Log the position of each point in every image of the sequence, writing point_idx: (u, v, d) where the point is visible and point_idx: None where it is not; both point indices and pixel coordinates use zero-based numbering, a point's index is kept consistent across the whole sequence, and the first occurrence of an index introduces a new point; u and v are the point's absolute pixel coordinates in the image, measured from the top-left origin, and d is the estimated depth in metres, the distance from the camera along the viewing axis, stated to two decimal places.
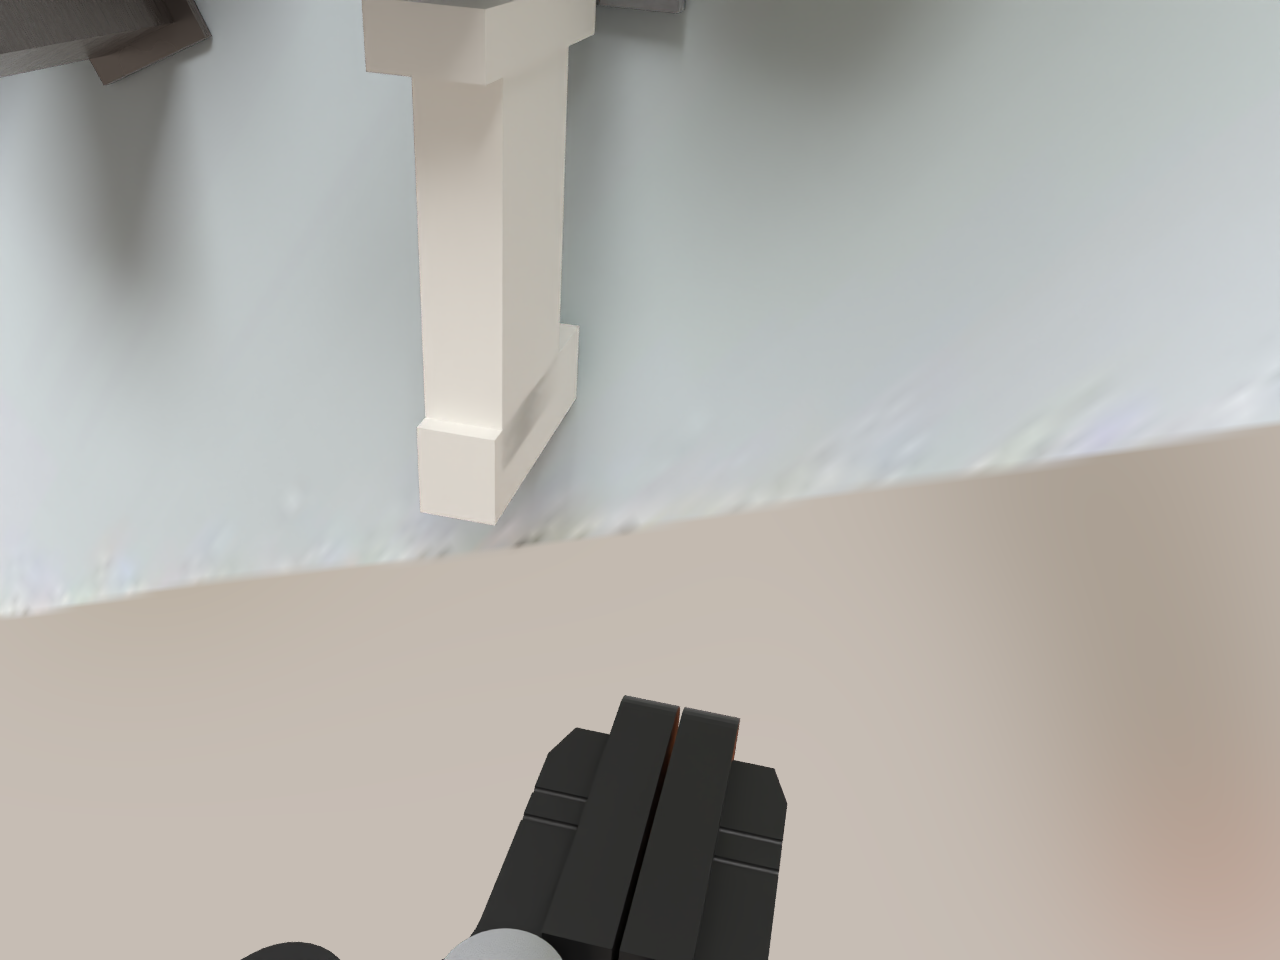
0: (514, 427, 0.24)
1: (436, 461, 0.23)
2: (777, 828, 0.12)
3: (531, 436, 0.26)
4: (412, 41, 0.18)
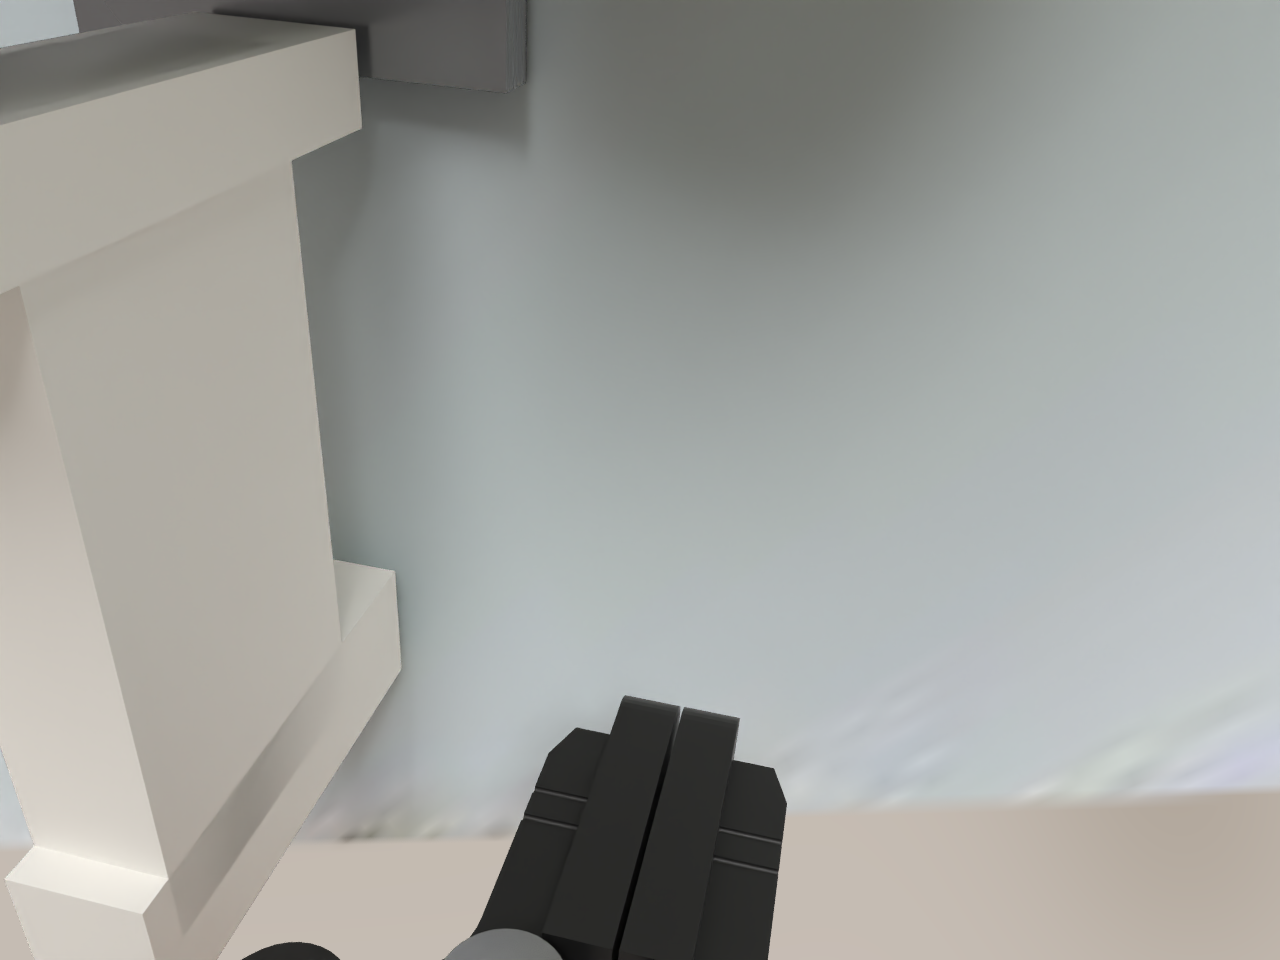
0: (213, 841, 0.13)
1: (52, 930, 0.13)
2: (777, 828, 0.12)
3: (276, 811, 0.15)
4: None
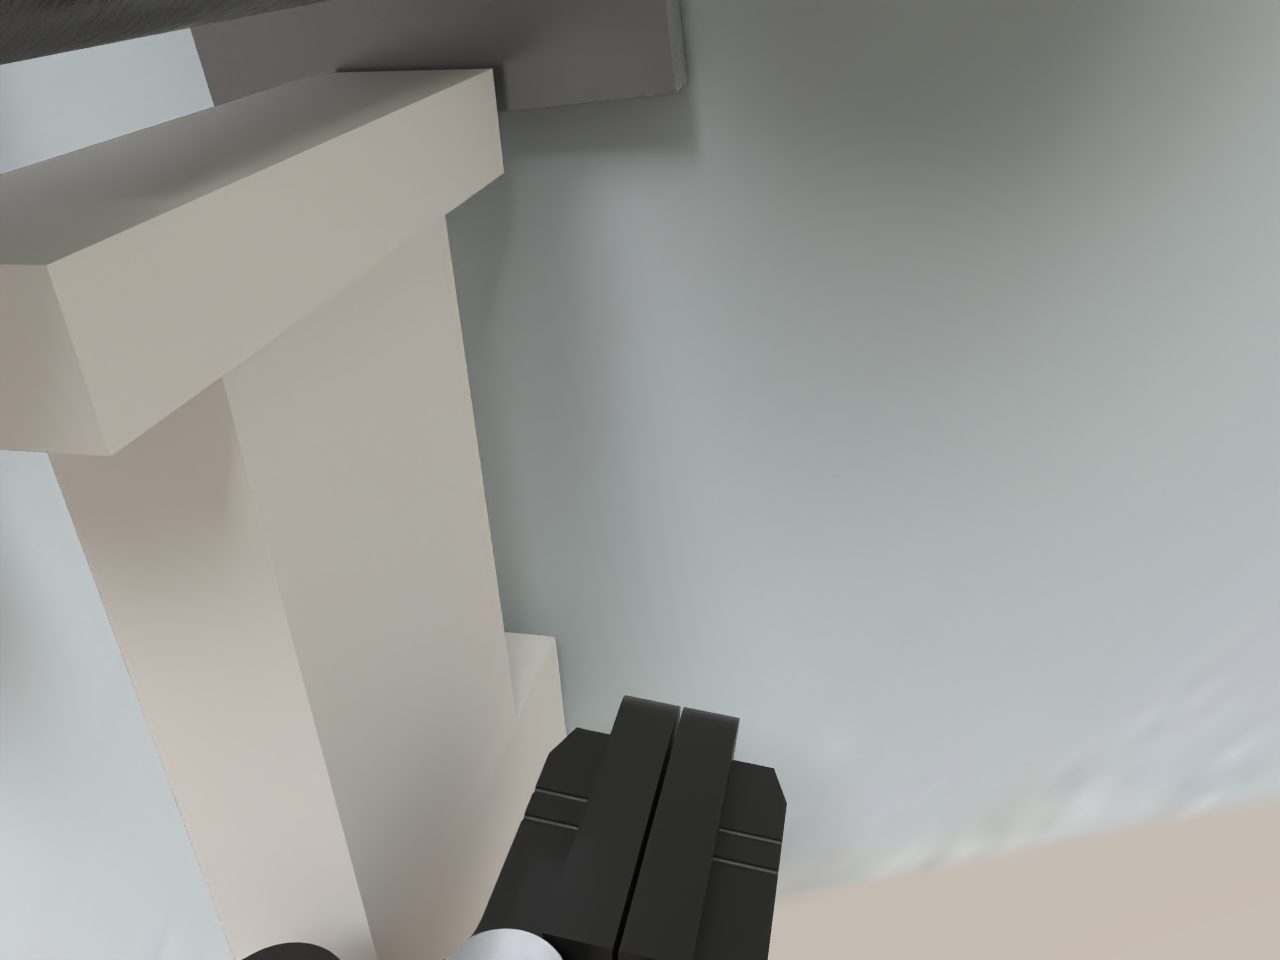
0: (424, 953, 0.12)
1: None
2: (776, 828, 0.12)
3: (474, 910, 0.14)
4: None
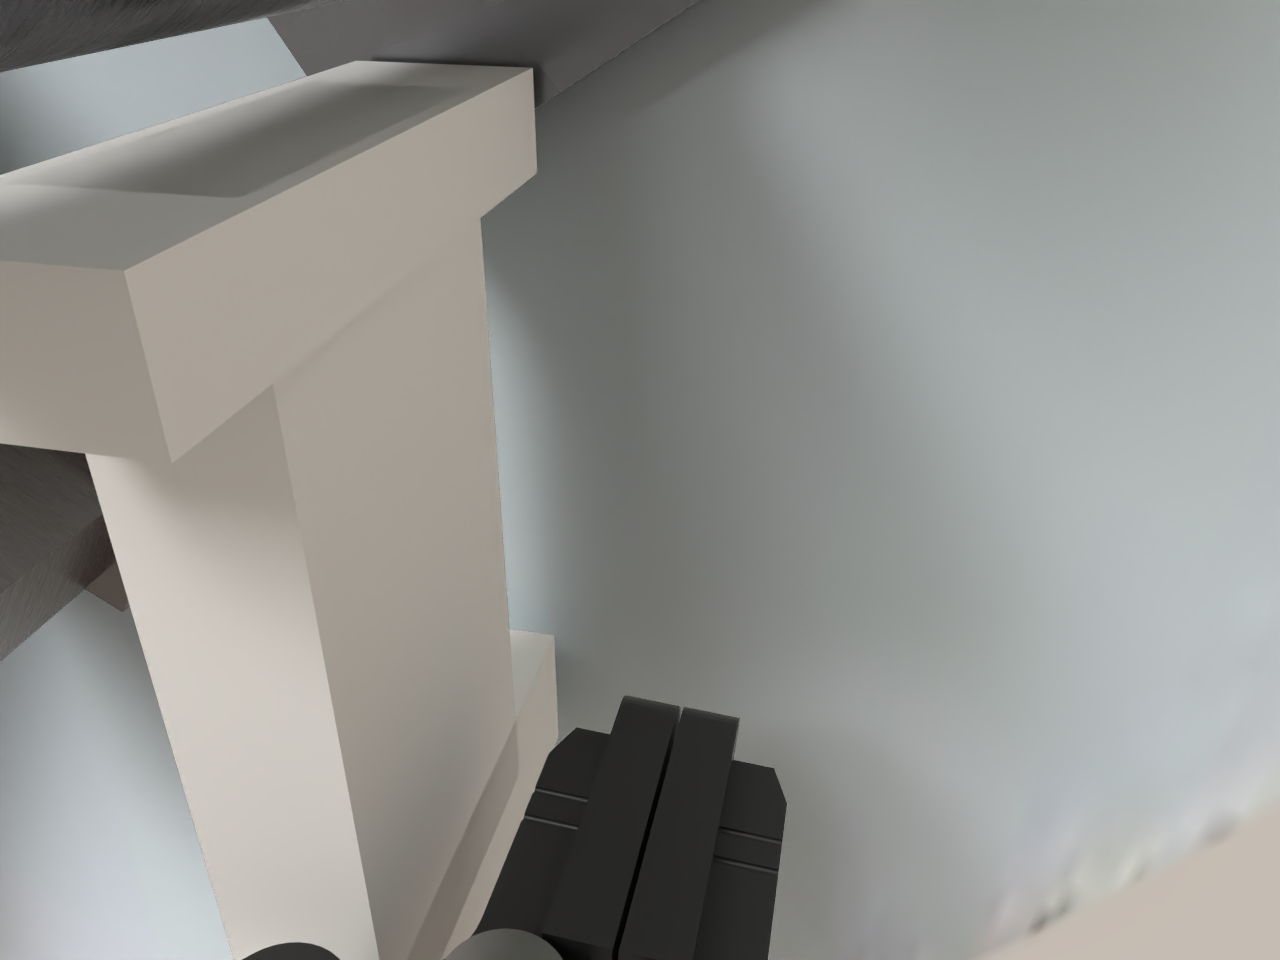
0: (420, 952, 0.12)
1: None
2: (777, 828, 0.12)
3: (467, 908, 0.14)
4: None
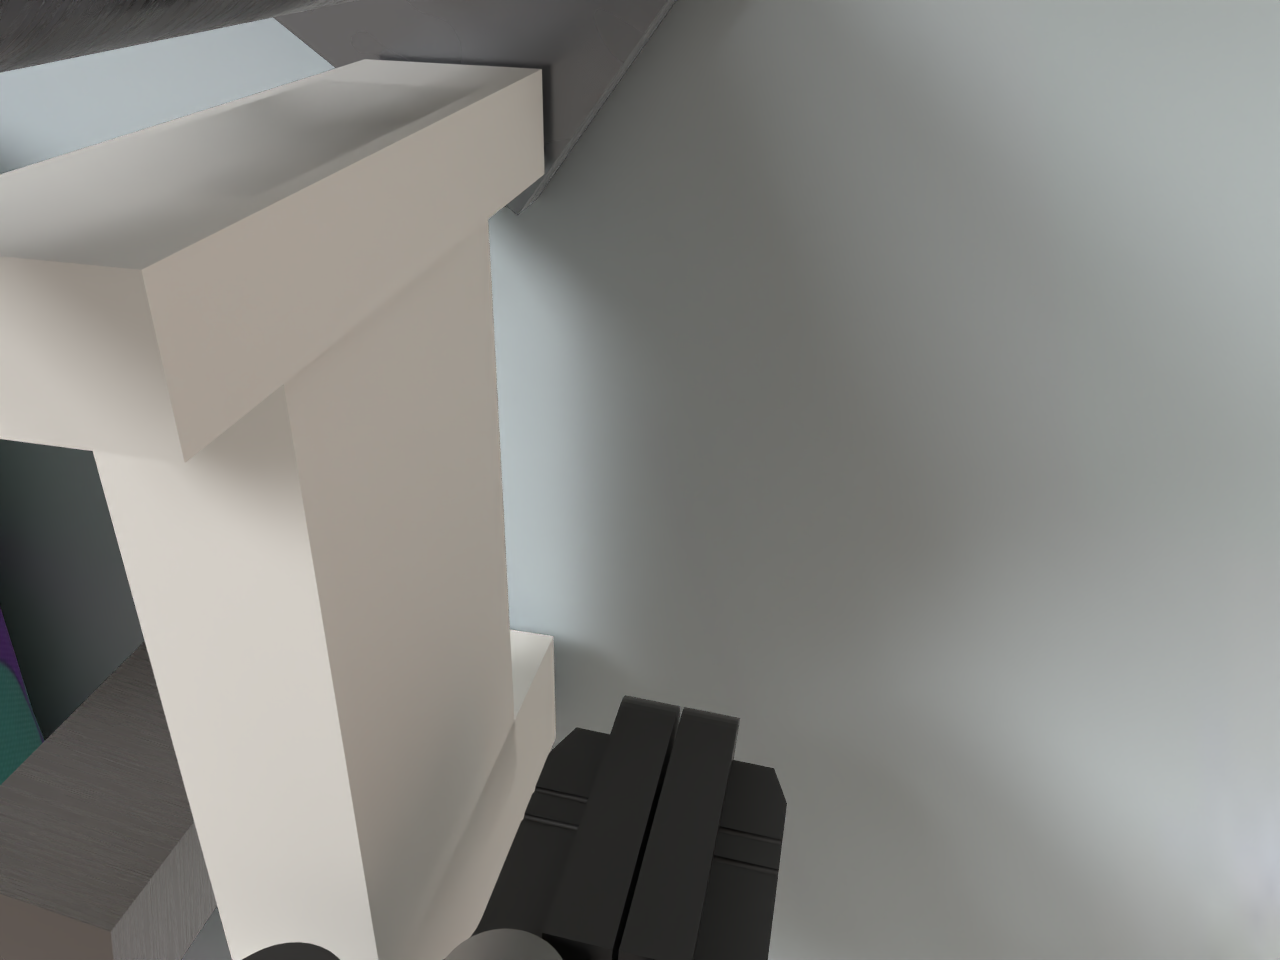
0: (419, 953, 0.12)
1: None
2: (777, 828, 0.12)
3: (464, 908, 0.14)
4: None
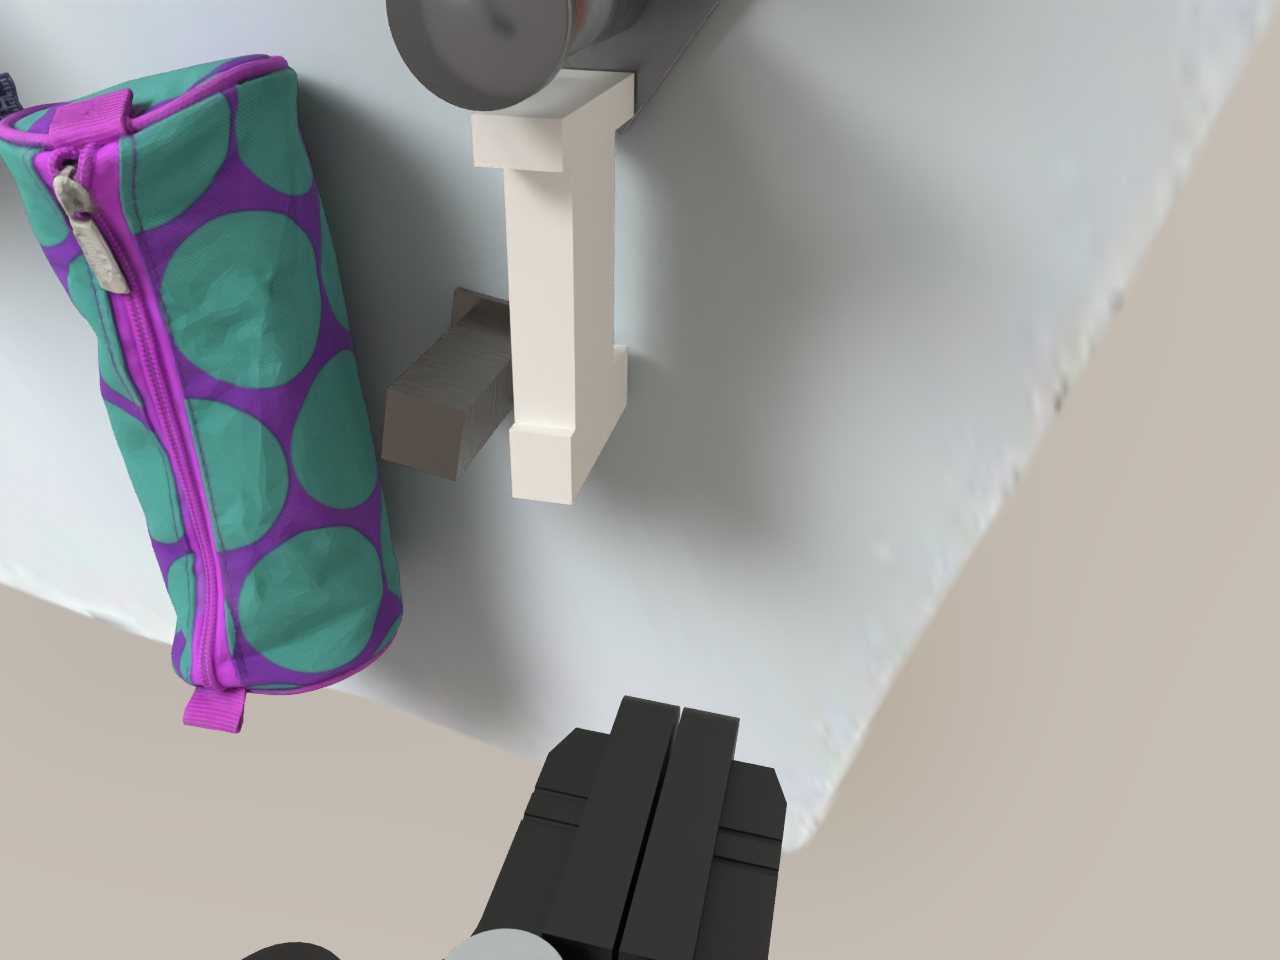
0: (583, 427, 0.30)
1: (524, 456, 0.30)
2: (776, 828, 0.12)
3: (595, 435, 0.32)
4: (508, 143, 0.24)
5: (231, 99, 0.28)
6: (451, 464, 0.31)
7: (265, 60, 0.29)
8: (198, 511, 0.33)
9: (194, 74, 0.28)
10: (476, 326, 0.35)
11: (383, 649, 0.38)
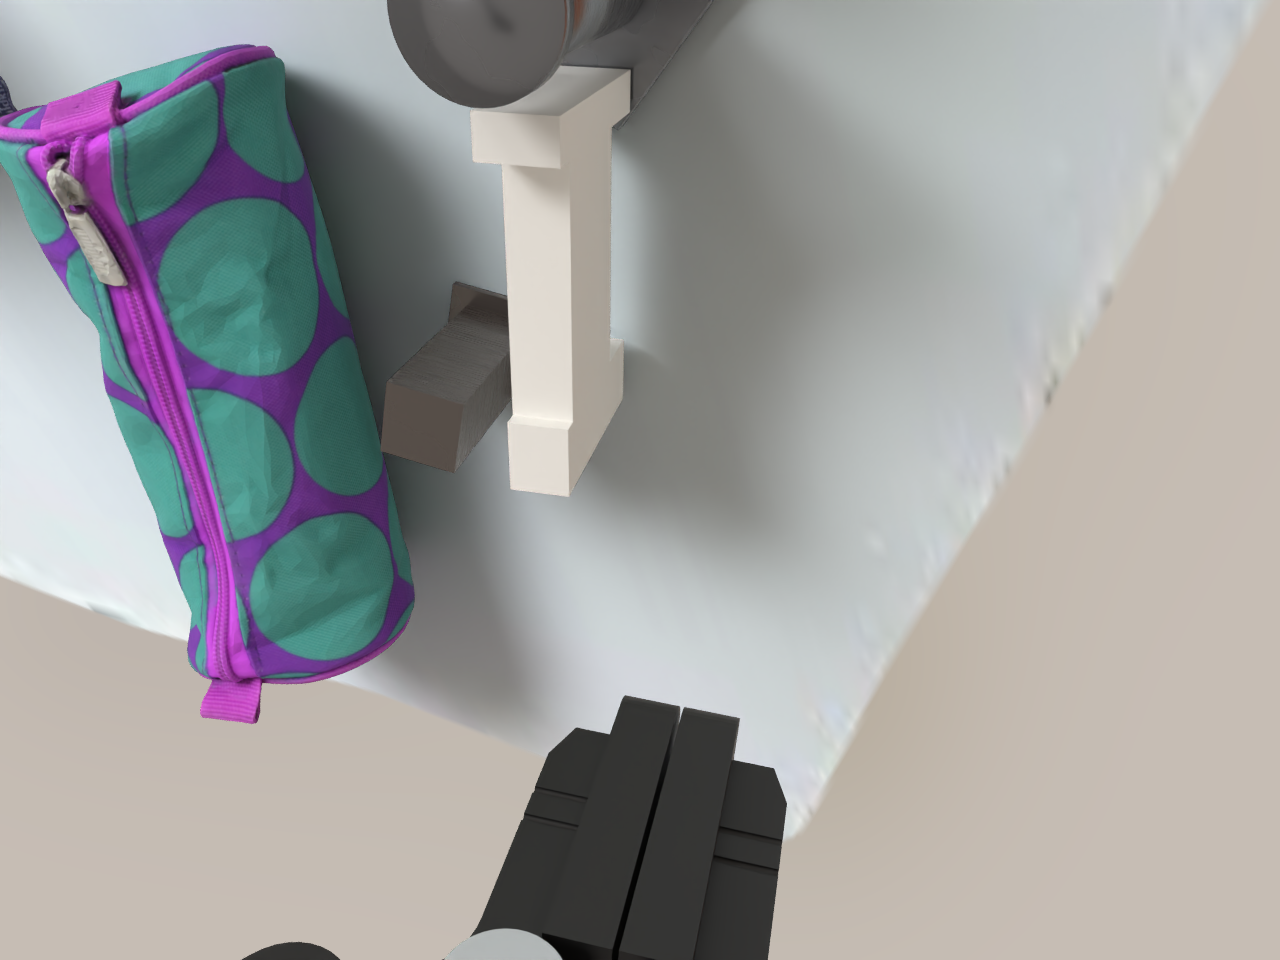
0: (580, 420, 0.31)
1: (522, 448, 0.30)
2: (777, 828, 0.12)
3: (592, 428, 0.32)
4: (507, 140, 0.25)
5: (217, 86, 0.28)
6: (450, 456, 0.31)
7: (251, 48, 0.29)
8: (205, 502, 0.33)
9: (181, 65, 0.29)
10: (474, 320, 0.35)
11: (396, 635, 0.38)
